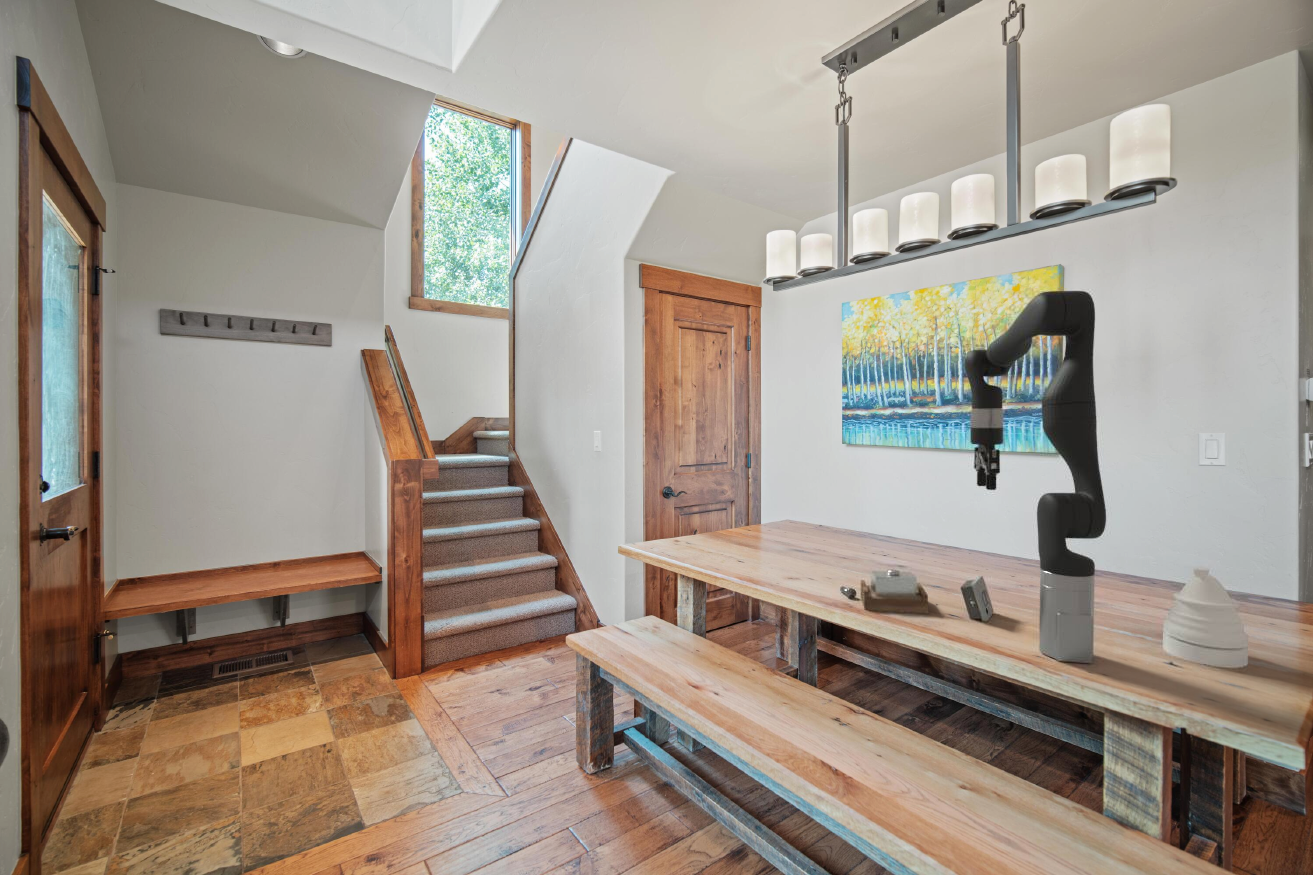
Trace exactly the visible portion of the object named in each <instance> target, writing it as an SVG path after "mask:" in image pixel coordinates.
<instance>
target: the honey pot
mask: <svg viewBox="0 0 1313 875" xmlns="http://www.w3.org/2000/svg"><path fill="white" fill-rule="evenodd" d="M1191 570H1192V573H1193V575H1194V576H1193V577H1192V578H1191V579H1190V580H1188V581H1187V582H1186V584H1185V585H1184V586H1183V588H1182V589H1181V590H1179V591H1175V592H1174V593H1173V598H1174V599H1175V601H1174V603H1173V605H1172V606H1170V608H1169V612H1168V614H1167V618H1166V619H1164V621H1163V632H1162V649H1163V650H1164V652H1167V653H1168V654H1169V653H1170V655H1171V656H1174V657H1175V658H1179V659H1182V660H1185V661H1188V662H1191V663H1195V664H1199V665H1204V664H1206V665H1205V666H1209V665H1210V666H1211V667H1217V668H1226V669H1227V668H1228V669H1230V668H1231V669H1236V668H1237V669H1239V667H1240V668H1245V667H1246V666H1248V665H1249V637H1248V634H1247V632H1246V631H1245V627H1244V625H1243V624H1242V618H1241V617H1240V616H1239V614H1238V611H1237V609H1238V608H1240V606H1241V604H1240V601H1238V600H1236V599H1234V598H1232V597H1230V595H1229V593H1228V592H1227V590H1226V588H1225V587H1224V586H1223V584H1222V583H1221V582H1220V581H1219V580H1218V579H1217V578H1216V577H1214V576H1213V575H1212V574H1209V572H1210V569H1209V568H1206V567H1203V566H1201V567H1200V566H1192V567H1191ZM1244 666H1245V667H1244Z"/></svg>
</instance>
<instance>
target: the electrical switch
mask: <svg viewBox="0 0 1313 875" xmlns="http://www.w3.org/2000/svg"><path fill="white" fill-rule="evenodd" d="M960 591H961V594H962V597H963V600H964V604H965V606H966V607H965V608H966V611H967V613H968V617H969V620H976V619H977V620H978V619H980V620H981V621H982V622H983V623H984V622H988V621H989V619H990V618H991V617H992V615H993V614H994V612H995V611H994V608H993V605H992V602H991V601H992V600H991V598H990V595H989V591H988V588H987V585H986V582H985V579H984V576H983V575H978V576H977V577H976V578H975V579H971V580H966V581H965V582H964V583H963V584H962V585H961V586H960Z"/></svg>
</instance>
